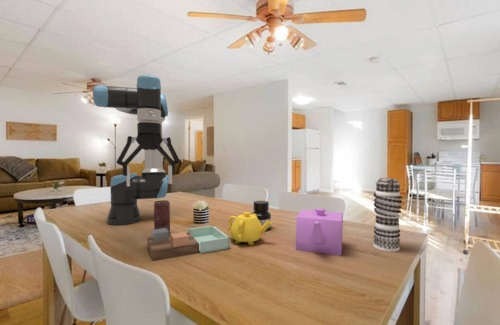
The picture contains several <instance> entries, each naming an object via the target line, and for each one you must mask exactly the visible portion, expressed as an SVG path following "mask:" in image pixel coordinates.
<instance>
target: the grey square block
mask: <svg viewBox="0 0 500 325" xmlns="http://www.w3.org/2000/svg"><path fill="white" fill-rule="evenodd" d="M169 235H170V234H169V231H168V230H167V228H162V229H154V228H153V229H152V230H151V238H152V239H153V241H154V242H159V241H166V240H169Z"/></svg>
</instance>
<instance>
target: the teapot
mask: <svg viewBox="0 0 500 325" xmlns="http://www.w3.org/2000/svg"><path fill="white" fill-rule="evenodd" d="M252 213H253V212H252ZM252 213H251V212H249V211H244V212H243V214H239V215H237V216H236V215H232V216H230V217H229V218H228V225H229V226H228V227H227V230H226V231H228V233H229V234H230V236H231V238H232V239H233V240H235V241H234V244H241V243H247V244H248V245H249V246H254V245H255V244H254V243H255V242H256V241H260V238H262V236H263V235H264V233H265V231H267V230H266V229H267V228H268V227H269V226H270V225H271V226H272V224H273V222H272V220H271V221H270V220H267V221H266V223H265V224H264V225H263V226H262V225H261V223H260V221H259V220H258V218H257V214H254V213H253V214H252ZM251 214H252V215H251ZM232 219H234V220H233V222H232Z"/></svg>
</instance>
